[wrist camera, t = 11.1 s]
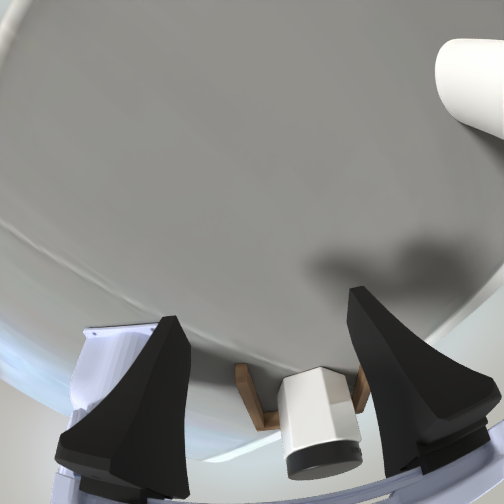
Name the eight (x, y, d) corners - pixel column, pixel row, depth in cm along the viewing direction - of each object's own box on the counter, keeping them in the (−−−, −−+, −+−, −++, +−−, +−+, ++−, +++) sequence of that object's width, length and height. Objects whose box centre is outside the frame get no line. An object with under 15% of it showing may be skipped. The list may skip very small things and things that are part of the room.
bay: (256, 416, 38) (257, 431, 36) (235, 364, 29) (235, 383, 27) (358, 398, 37) (362, 412, 35) (374, 339, 29) (381, 356, 27)
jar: (329, 399, 36) (345, 475, 26) (272, 402, 35) (280, 483, 25) (352, 363, 31) (378, 453, 21) (285, 366, 30) (299, 467, 20)
